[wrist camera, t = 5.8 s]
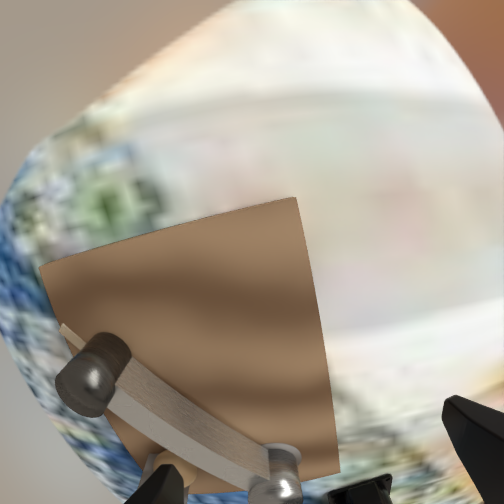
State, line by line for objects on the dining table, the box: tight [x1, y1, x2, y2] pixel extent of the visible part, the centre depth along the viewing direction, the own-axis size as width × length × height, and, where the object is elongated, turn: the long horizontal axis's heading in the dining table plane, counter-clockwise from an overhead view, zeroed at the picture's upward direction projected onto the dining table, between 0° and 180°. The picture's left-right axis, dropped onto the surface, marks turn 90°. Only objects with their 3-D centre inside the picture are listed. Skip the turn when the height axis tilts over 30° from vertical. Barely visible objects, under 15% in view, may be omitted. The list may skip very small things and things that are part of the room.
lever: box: [55, 332, 303, 504], centre depth 16 cm, size 17×4×4 cm, turn 46°
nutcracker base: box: [39, 197, 340, 504], centre depth 16 cm, size 22×16×5 cm
